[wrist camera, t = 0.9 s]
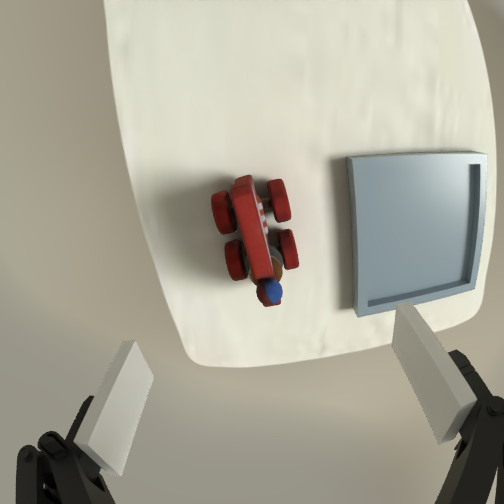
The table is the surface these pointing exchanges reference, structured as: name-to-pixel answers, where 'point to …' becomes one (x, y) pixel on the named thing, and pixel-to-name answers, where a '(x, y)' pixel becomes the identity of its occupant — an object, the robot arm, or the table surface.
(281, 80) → the table surface
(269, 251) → the toy fire truck
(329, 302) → the table surface
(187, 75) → the table surface
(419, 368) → the robot arm
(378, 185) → the tray
